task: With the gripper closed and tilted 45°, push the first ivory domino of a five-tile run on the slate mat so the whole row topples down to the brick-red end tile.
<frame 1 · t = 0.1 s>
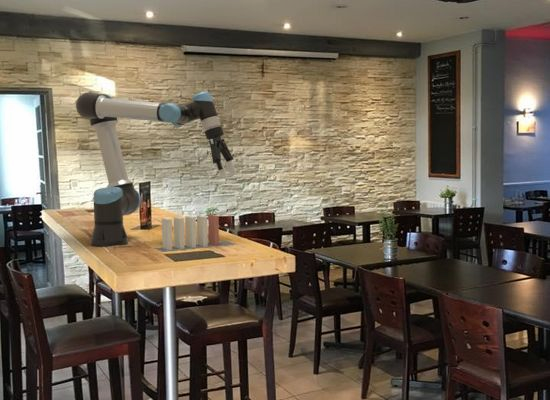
hand: (229, 176, 258), 28 cm above the table, tool tilted 20°, fingers open, 13 cm apart
domino 4: (202, 245, 248), resting on runner mat
runner mat: (195, 247, 247), on the table
domino 5: (213, 244, 251), resting on runner mat
domino 3: (191, 246, 245), resting on runner mat
domino 1: (167, 249, 240), resting on runner mat
domino 2: (179, 247, 243), resting on runner mat
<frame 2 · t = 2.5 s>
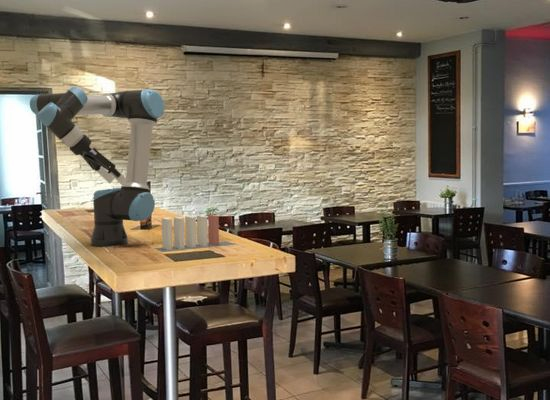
hand: (118, 181, 228), 28 cm above the table, tool tilted 45°, fingers open, 13 cm apart
nothing on the table moved.
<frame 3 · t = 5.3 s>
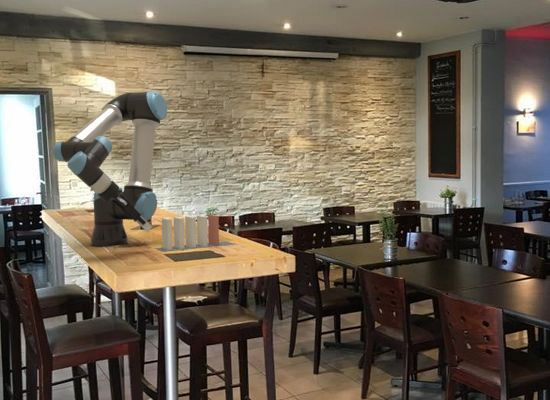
hand: (149, 229, 235), 9 cm above the table, tool tilted 45°, fingers closed
nothing on the table moved.
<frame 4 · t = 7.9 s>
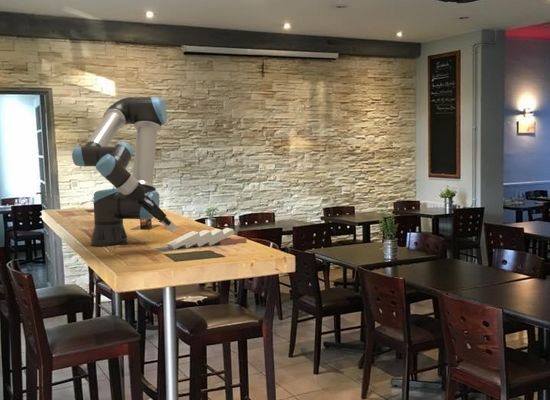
hand: (174, 229, 241), 8 cm above the table, tool tilted 45°, fingers closed
domino 4: (206, 243, 249), point 1 cm above the table, tilted 69°, touching domino 3, domino 5, runner mat
domino 5: (217, 241, 251), point 1 cm above the table, tilted 90°, touching domino 4, runner mat
domino 3: (194, 244, 246), point 1 cm above the table, tilted 69°, touching domino 2, domino 4
domino 1: (170, 246, 241), point 1 cm above the table, tilted 69°, touching domino 2, runner mat
domino 2: (182, 245, 244), point 1 cm above the table, tilted 69°, touching domino 1, domino 3, runner mat
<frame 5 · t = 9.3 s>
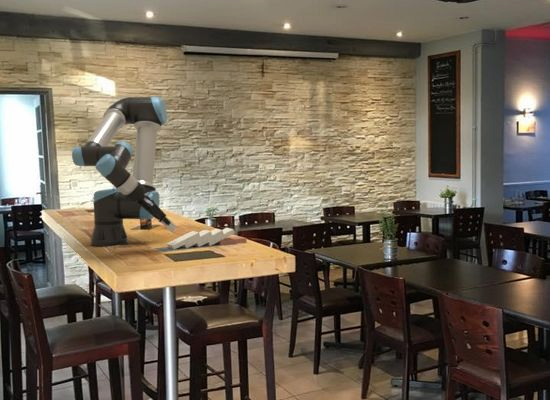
hand: (173, 229, 241), 8 cm above the table, tool tilted 45°, fingers closed
nothing on the table moved.
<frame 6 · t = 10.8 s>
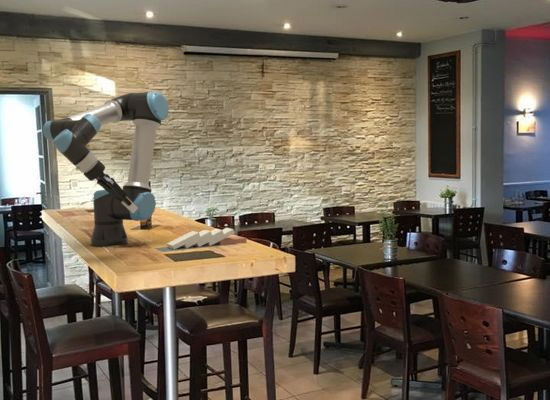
hand: (135, 210, 233), 16 cm above the table, tool tilted 45°, fingers closed
nothing on the table moved.
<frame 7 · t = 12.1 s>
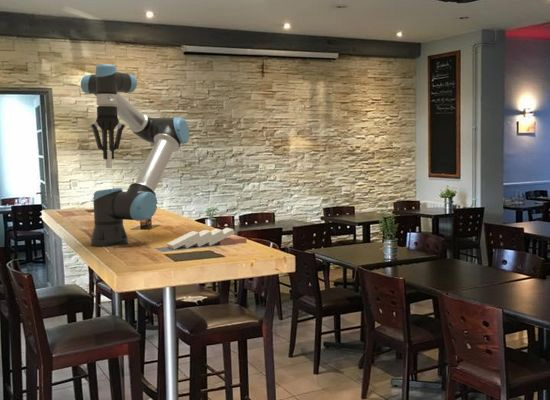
hand: (109, 167, 236), 32 cm above the table, tool pointing down, fingers closed
nothing on the table moved.
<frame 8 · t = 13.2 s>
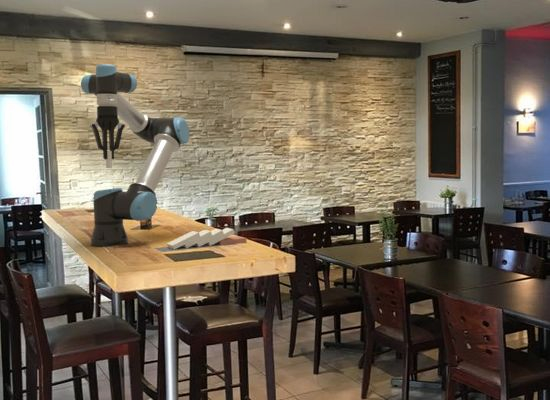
hand: (109, 167, 236), 32 cm above the table, tool pointing down, fingers closed
nothing on the table moved.
at the end: domino 5 tilted 90°; domino 1 tilted 69° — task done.
